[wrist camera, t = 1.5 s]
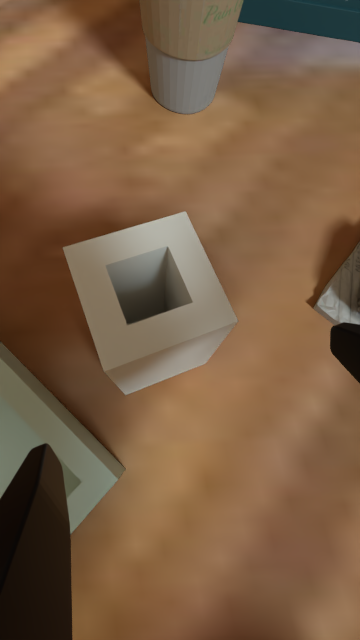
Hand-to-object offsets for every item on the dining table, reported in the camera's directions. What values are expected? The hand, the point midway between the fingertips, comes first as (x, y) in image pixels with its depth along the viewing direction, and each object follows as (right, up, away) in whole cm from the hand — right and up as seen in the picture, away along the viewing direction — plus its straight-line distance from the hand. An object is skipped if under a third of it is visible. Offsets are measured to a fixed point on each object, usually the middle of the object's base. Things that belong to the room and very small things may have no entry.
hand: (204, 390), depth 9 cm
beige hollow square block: (-3, +1, +12) cm, 13 cm away
